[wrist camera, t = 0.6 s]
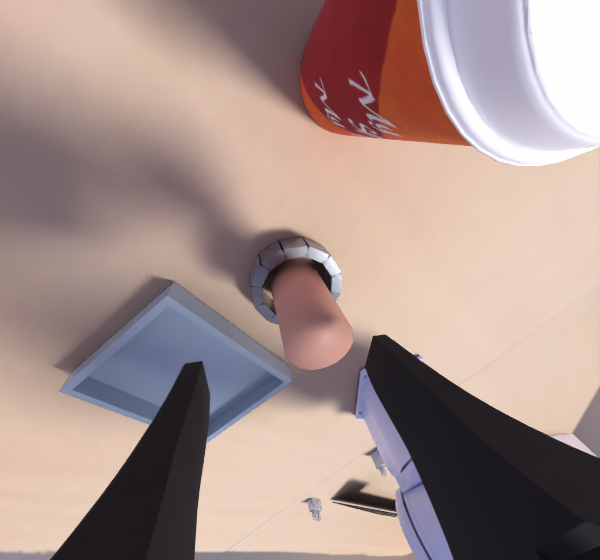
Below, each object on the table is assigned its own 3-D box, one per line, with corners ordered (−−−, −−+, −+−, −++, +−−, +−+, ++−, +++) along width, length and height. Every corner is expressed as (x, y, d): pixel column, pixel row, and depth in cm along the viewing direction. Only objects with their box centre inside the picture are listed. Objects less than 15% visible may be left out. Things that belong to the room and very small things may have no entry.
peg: (316, 294, 22) (351, 362, 15) (272, 301, 21) (287, 375, 14) (315, 252, 20) (355, 309, 13) (266, 259, 19) (281, 322, 12)
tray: (289, 365, 25) (292, 381, 24) (206, 425, 27) (204, 444, 25) (174, 281, 18) (167, 295, 17) (73, 370, 20) (58, 391, 18)
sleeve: (332, 305, 23) (339, 318, 21) (257, 317, 22) (258, 332, 20) (333, 233, 19) (342, 241, 18) (244, 243, 18) (244, 253, 16)
